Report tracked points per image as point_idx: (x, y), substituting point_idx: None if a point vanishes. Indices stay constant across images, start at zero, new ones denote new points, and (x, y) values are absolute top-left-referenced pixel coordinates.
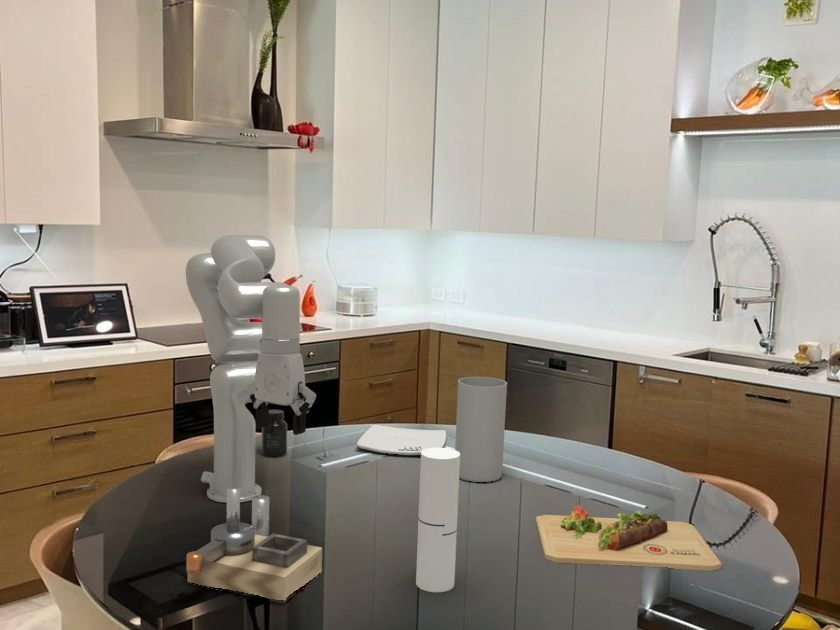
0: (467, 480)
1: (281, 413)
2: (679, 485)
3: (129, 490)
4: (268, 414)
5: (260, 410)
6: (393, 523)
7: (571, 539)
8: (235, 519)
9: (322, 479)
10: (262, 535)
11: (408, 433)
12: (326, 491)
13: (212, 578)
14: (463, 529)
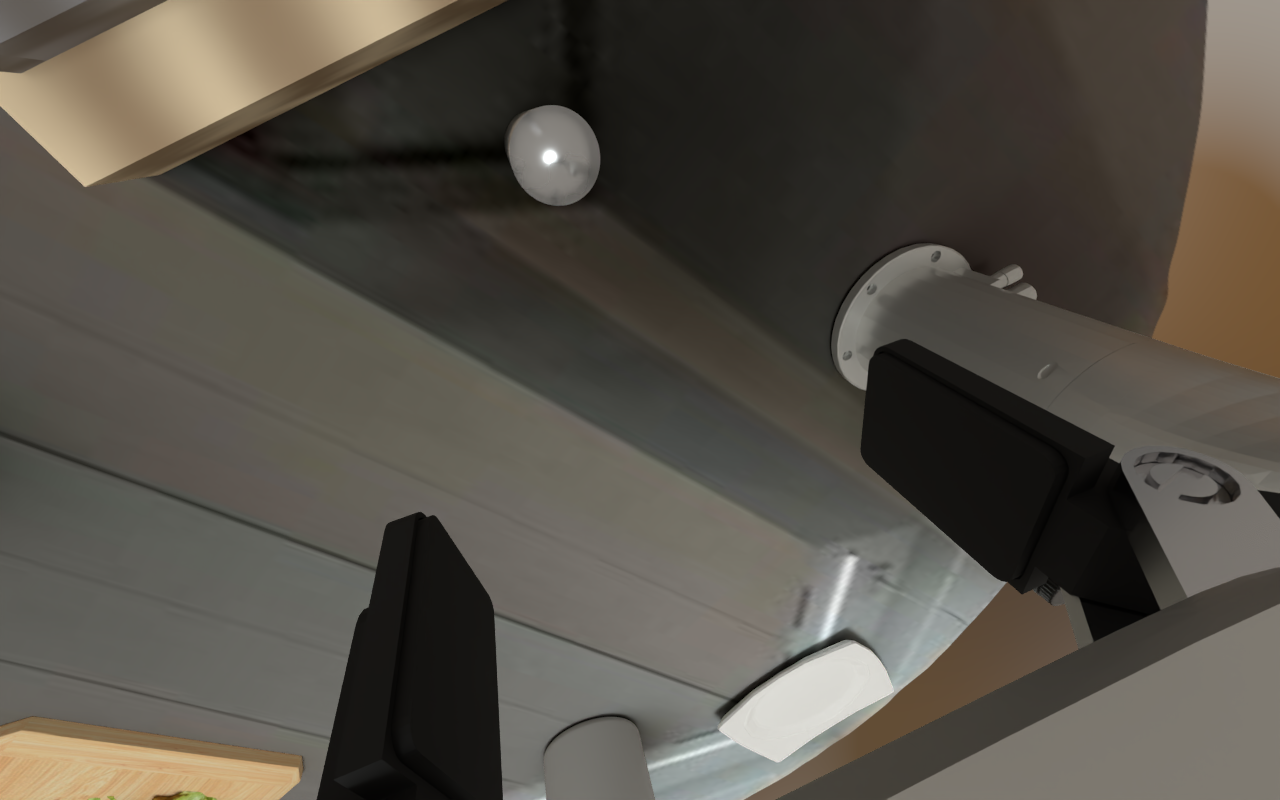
0: (578, 725)
1: (1051, 597)
2: None
3: (1168, 79)
4: (939, 523)
5: (1040, 475)
6: (461, 541)
7: (86, 792)
8: None
9: (796, 527)
10: (506, 134)
11: (827, 715)
12: (737, 505)
13: None
14: (331, 643)
